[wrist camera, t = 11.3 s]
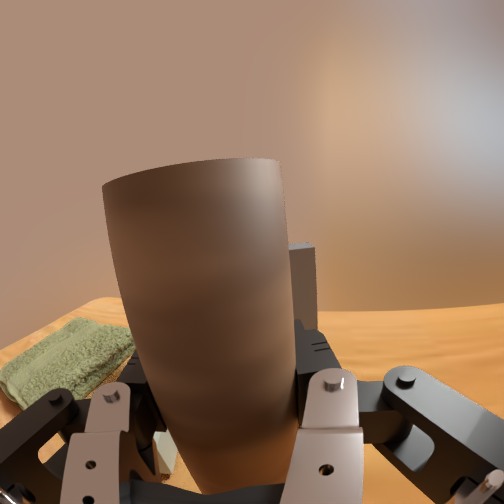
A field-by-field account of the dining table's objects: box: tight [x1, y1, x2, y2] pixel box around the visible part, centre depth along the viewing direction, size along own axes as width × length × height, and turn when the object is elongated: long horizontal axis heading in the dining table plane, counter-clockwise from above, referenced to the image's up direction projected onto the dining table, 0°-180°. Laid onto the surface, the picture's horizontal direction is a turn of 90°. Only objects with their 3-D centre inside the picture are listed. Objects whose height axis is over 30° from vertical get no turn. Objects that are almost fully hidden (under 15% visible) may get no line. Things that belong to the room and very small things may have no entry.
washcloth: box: [0, 318, 136, 411], centre depth 23 cm, size 13×18×3 cm
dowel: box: [102, 158, 298, 495], centre depth 8 cm, size 4×4×14 cm
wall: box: [288, 242, 318, 330], centre depth 26 cm, size 14×2×10 cm, turn 92°
